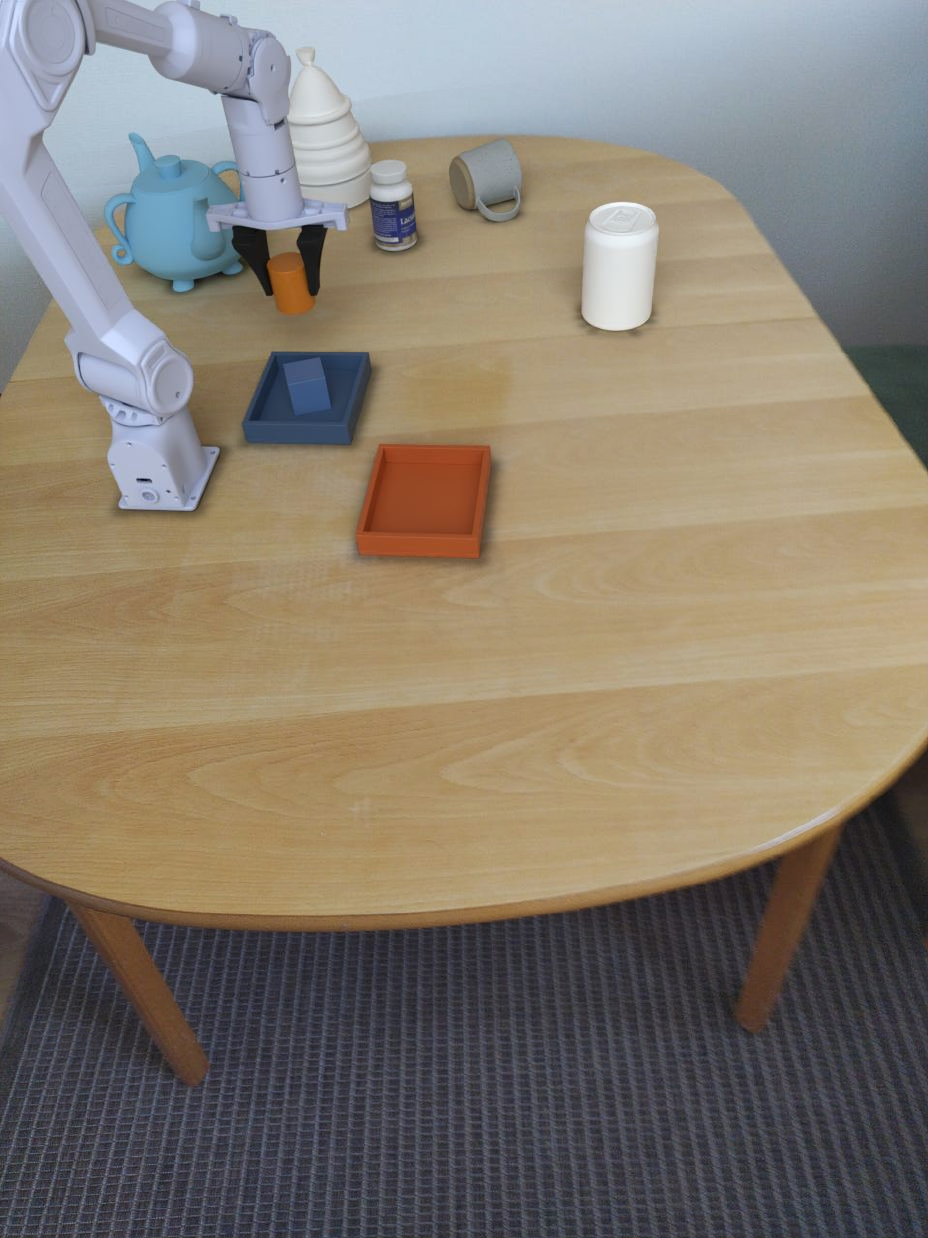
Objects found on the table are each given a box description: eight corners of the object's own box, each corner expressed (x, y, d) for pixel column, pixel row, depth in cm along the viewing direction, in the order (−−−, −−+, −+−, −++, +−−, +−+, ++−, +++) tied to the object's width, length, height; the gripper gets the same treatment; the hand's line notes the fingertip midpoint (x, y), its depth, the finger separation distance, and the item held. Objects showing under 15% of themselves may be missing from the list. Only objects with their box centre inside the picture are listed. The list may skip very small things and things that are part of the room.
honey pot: (280, 181, 141) (252, 47, 127) (363, 165, 142) (344, 31, 129) (296, 219, 132) (267, 80, 119) (384, 201, 134) (366, 62, 121)
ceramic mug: (447, 199, 133) (443, 144, 127) (497, 184, 135) (496, 128, 130) (483, 231, 127) (481, 174, 121) (536, 214, 129) (536, 157, 123)
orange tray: (479, 558, 87) (477, 539, 85) (359, 554, 88) (355, 535, 86) (491, 465, 95) (490, 445, 93) (382, 462, 96) (378, 443, 94)
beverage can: (570, 326, 110) (572, 227, 101) (597, 292, 115) (601, 194, 106) (635, 341, 108) (644, 240, 99) (660, 305, 112) (671, 206, 103)
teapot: (232, 307, 118) (202, 195, 107) (99, 290, 123) (57, 182, 112) (287, 243, 128) (264, 136, 117) (162, 230, 133) (129, 125, 122)
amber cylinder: (311, 314, 103) (302, 272, 99) (272, 315, 103) (262, 272, 100) (319, 293, 106) (311, 251, 102) (281, 293, 106) (271, 251, 103)
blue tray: (350, 444, 99) (347, 425, 97) (247, 442, 100) (241, 423, 98) (371, 370, 107) (368, 351, 105) (276, 369, 108) (271, 351, 107)
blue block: (331, 408, 102) (325, 377, 99) (295, 416, 102) (287, 384, 99) (326, 387, 105) (319, 356, 102) (290, 394, 104) (283, 363, 101)
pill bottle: (412, 253, 124) (404, 177, 116) (370, 251, 125) (359, 176, 117) (422, 232, 128) (415, 157, 120) (381, 230, 129) (372, 155, 121)
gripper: (345, 145, 95) (364, 271, 105) (207, 148, 97) (239, 272, 107) (332, 177, 90) (353, 305, 101) (187, 179, 92) (222, 306, 102)
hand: (293, 291), depth 103 cm, fingers closed on amber cylinder, 4 cm apart
